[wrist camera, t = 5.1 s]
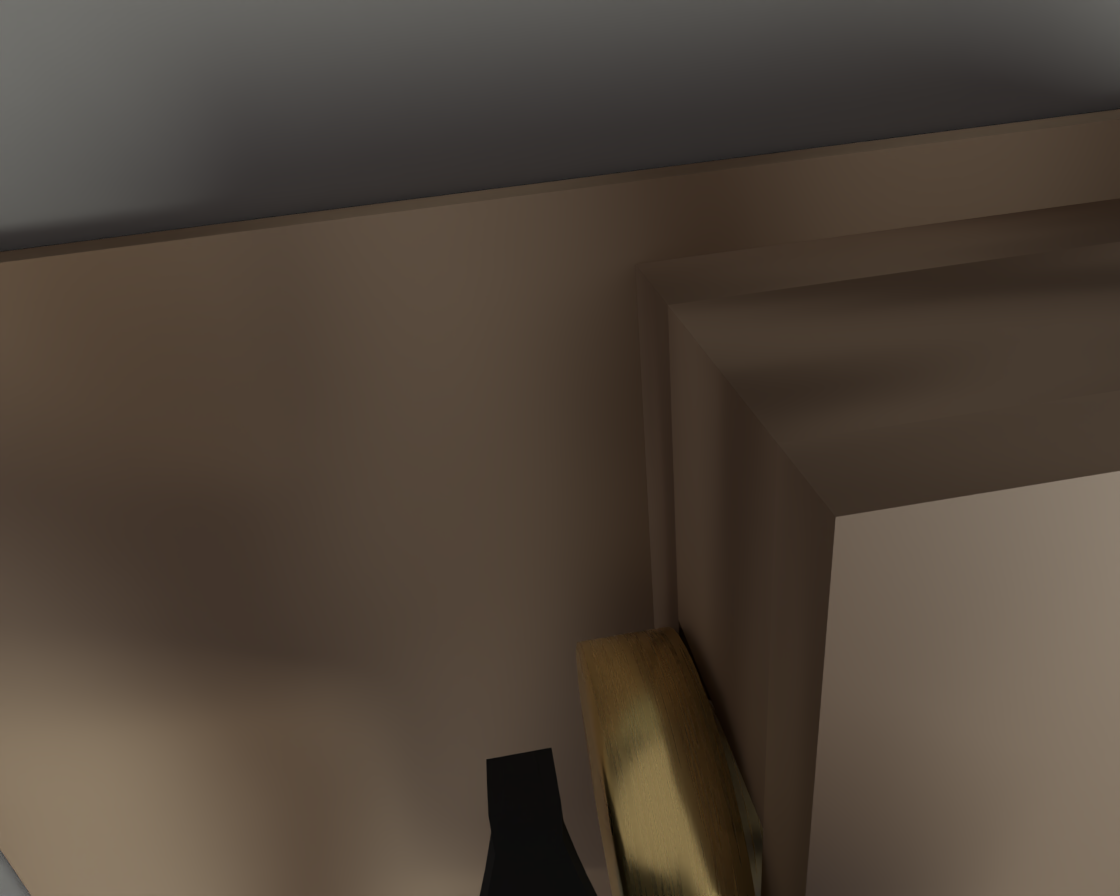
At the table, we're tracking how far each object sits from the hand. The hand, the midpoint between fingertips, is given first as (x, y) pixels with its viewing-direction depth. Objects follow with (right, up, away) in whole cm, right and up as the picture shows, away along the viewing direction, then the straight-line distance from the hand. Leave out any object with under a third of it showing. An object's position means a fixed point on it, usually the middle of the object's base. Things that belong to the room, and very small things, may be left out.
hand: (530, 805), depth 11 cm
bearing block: (+2, +2, +3) cm, 4 cm away
